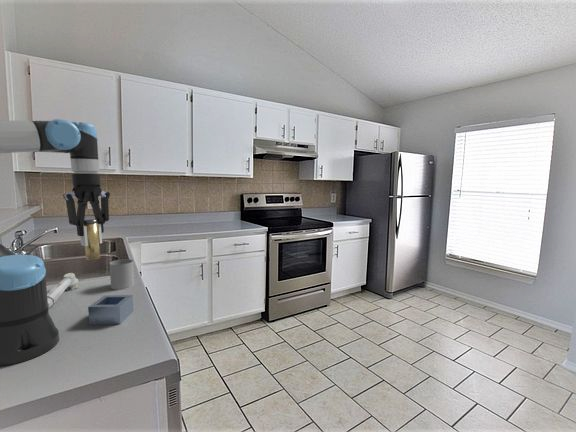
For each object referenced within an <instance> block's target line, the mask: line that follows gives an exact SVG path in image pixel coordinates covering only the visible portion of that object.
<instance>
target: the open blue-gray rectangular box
mask: <svg viewBox="0 0 576 432" xmlns="http://www.w3.org/2000/svg"><path fill="white" fill-rule="evenodd" d="M133 297H134V296H133V295H132V294H121V295H118V294H117V295H115V294H113V295H107V294H106V295H103V296H101V297H100V298H99V299H97V300H96V301H95V302H93V303H91V304H90V305H89V306H88V307H87V309H88V310H87V311H88V323H89V326H90V325H91V326H92V325H121V324H122V323H123V322H124V321H125V320H126V319H127V318H128V317H129V316H130V315H131V314H133V312H134V298H133Z"/></svg>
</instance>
